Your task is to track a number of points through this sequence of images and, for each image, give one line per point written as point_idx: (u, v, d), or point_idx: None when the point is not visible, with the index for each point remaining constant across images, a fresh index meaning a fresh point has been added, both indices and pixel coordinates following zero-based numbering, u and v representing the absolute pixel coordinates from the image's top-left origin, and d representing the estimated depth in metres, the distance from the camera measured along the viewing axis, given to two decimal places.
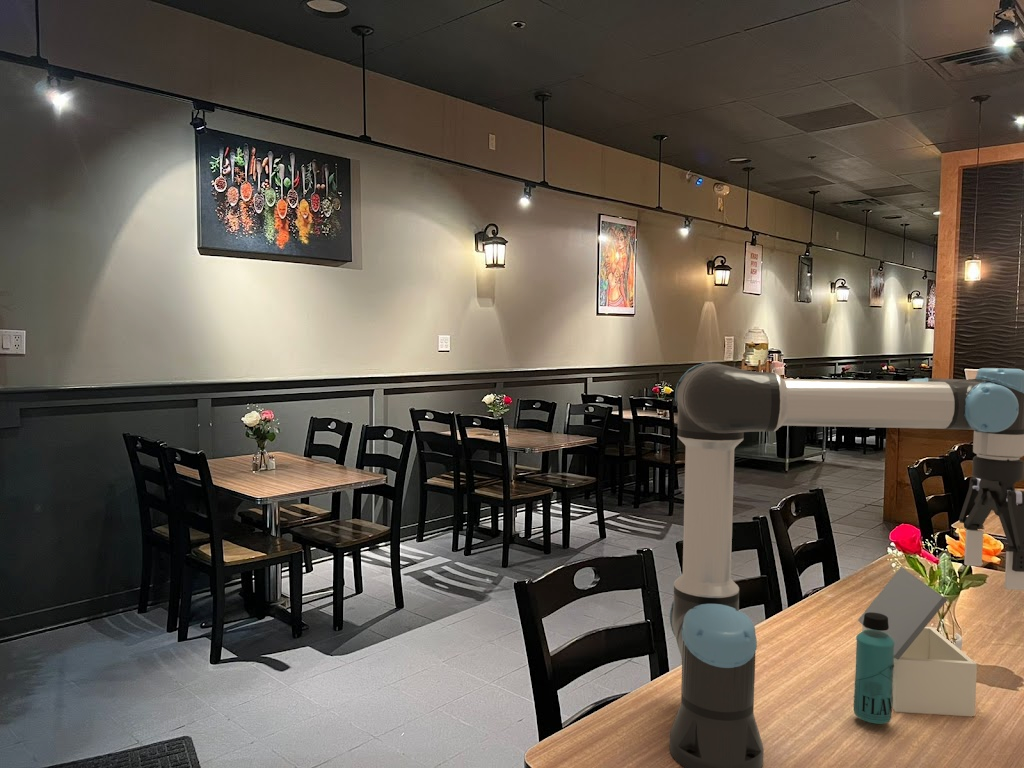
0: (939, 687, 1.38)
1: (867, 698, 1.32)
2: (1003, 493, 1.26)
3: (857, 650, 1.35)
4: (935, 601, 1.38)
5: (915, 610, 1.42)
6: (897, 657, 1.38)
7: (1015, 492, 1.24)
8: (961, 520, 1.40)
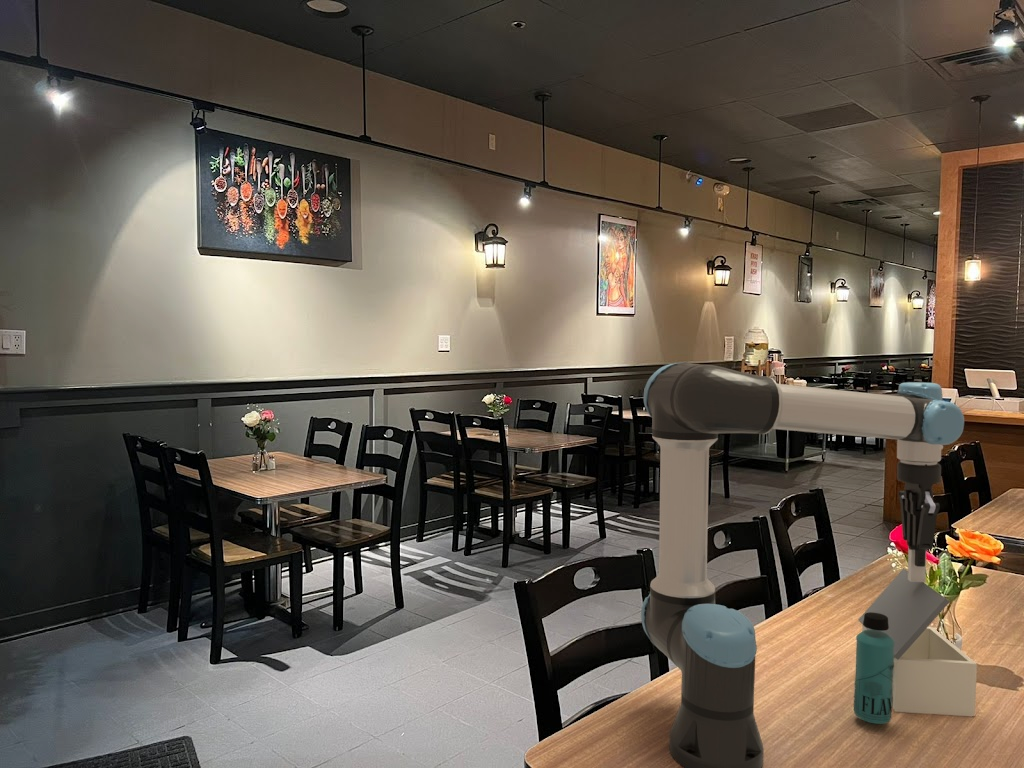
0: (939, 687, 1.38)
1: (867, 698, 1.32)
2: (921, 497, 1.42)
3: (857, 650, 1.35)
4: (937, 602, 1.38)
5: (917, 611, 1.42)
6: (897, 657, 1.38)
7: (930, 506, 1.39)
8: (904, 536, 1.49)
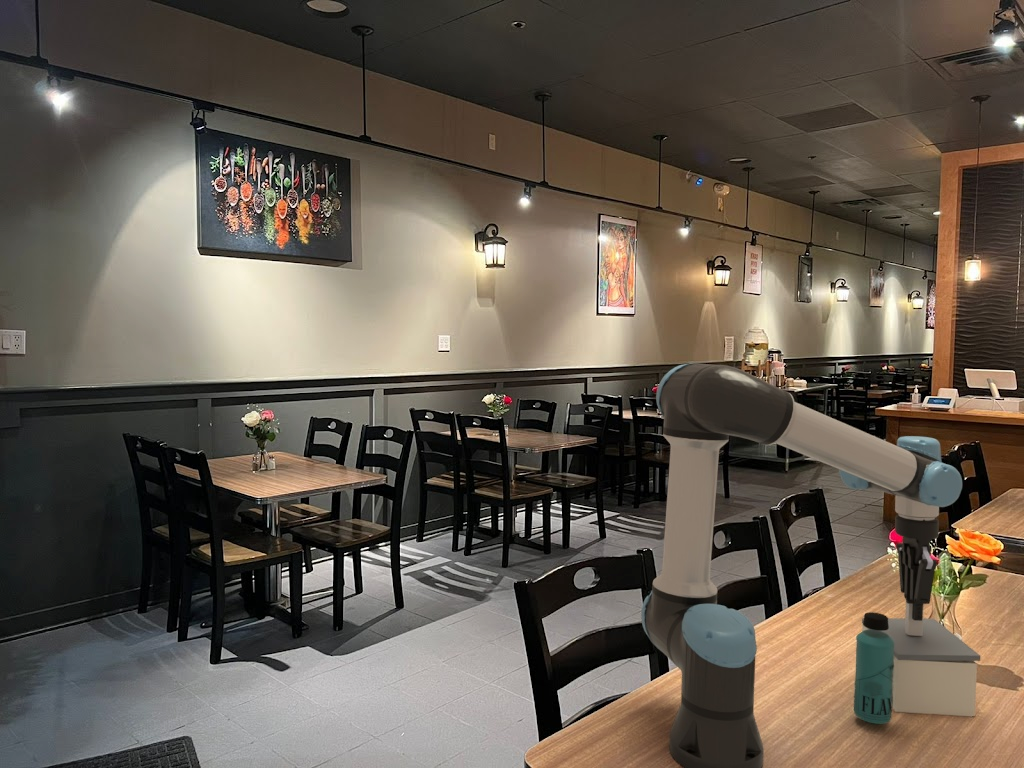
0: (939, 687, 1.38)
1: (867, 698, 1.32)
2: (919, 552, 1.42)
3: (857, 650, 1.35)
4: (969, 653, 1.38)
5: (940, 646, 1.41)
6: (900, 658, 1.38)
7: (927, 562, 1.40)
8: (902, 589, 1.49)
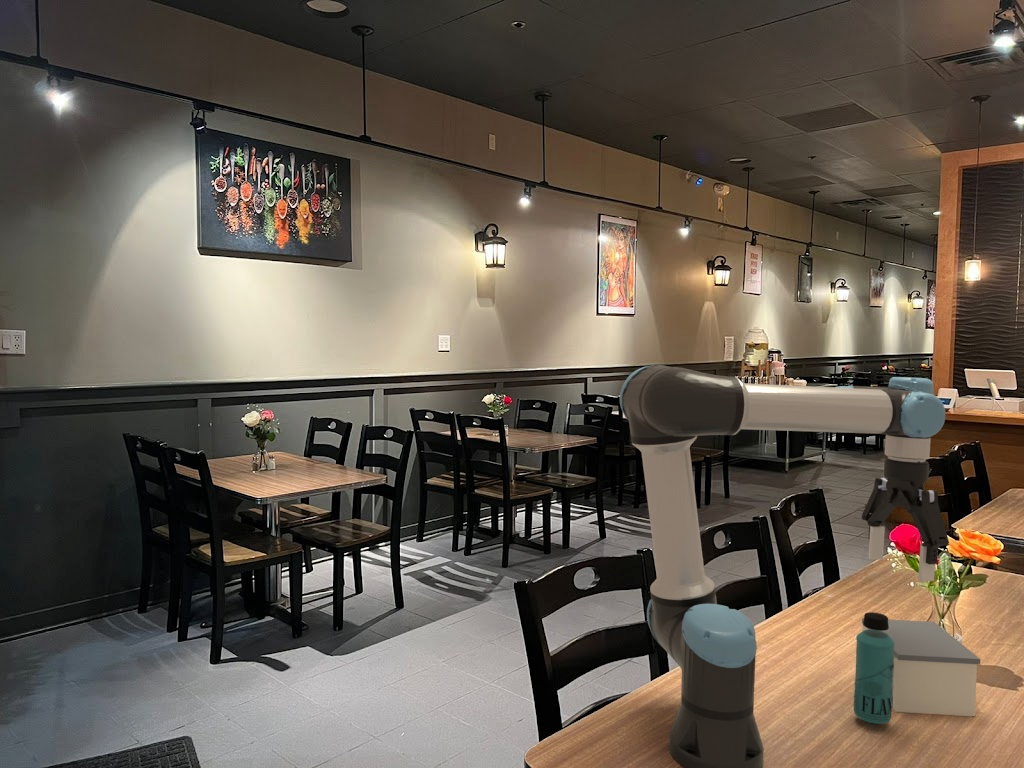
0: (939, 687, 1.38)
1: (867, 698, 1.32)
2: (915, 492, 1.37)
3: (857, 650, 1.35)
4: (969, 656, 1.38)
5: (940, 648, 1.41)
6: (900, 658, 1.38)
7: (928, 491, 1.35)
8: (864, 517, 1.50)
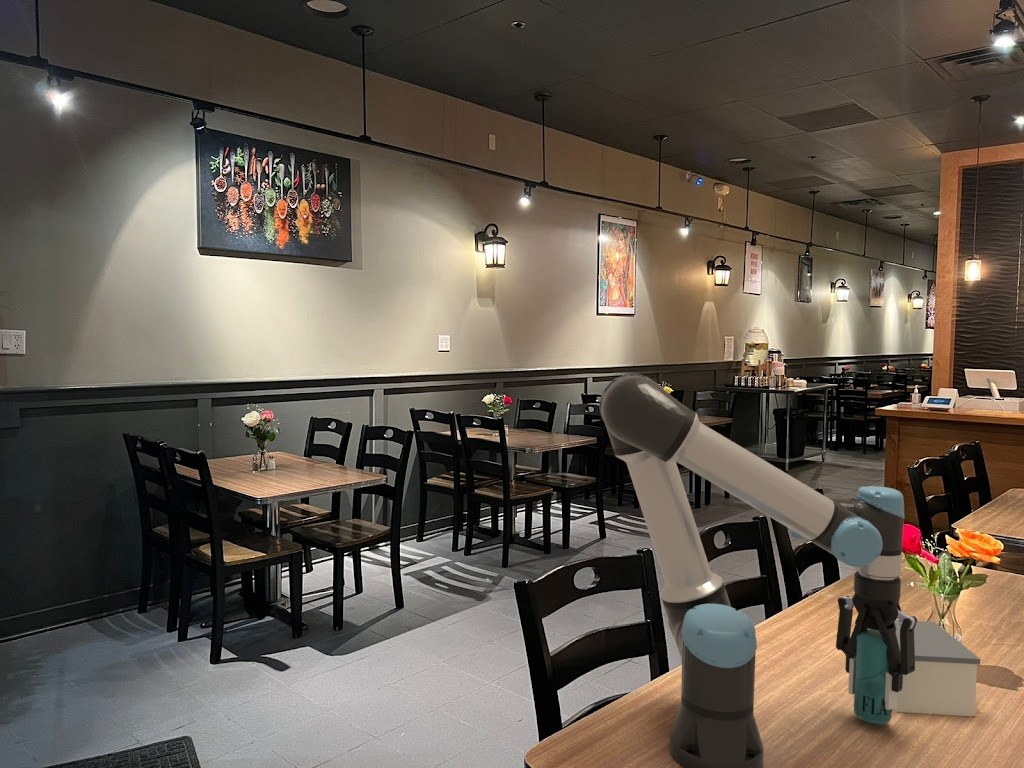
0: (939, 687, 1.38)
1: (867, 698, 1.32)
2: (894, 614, 1.30)
3: (857, 650, 1.35)
4: (969, 656, 1.38)
5: (940, 648, 1.41)
6: None
7: (911, 621, 1.28)
8: (840, 647, 1.38)
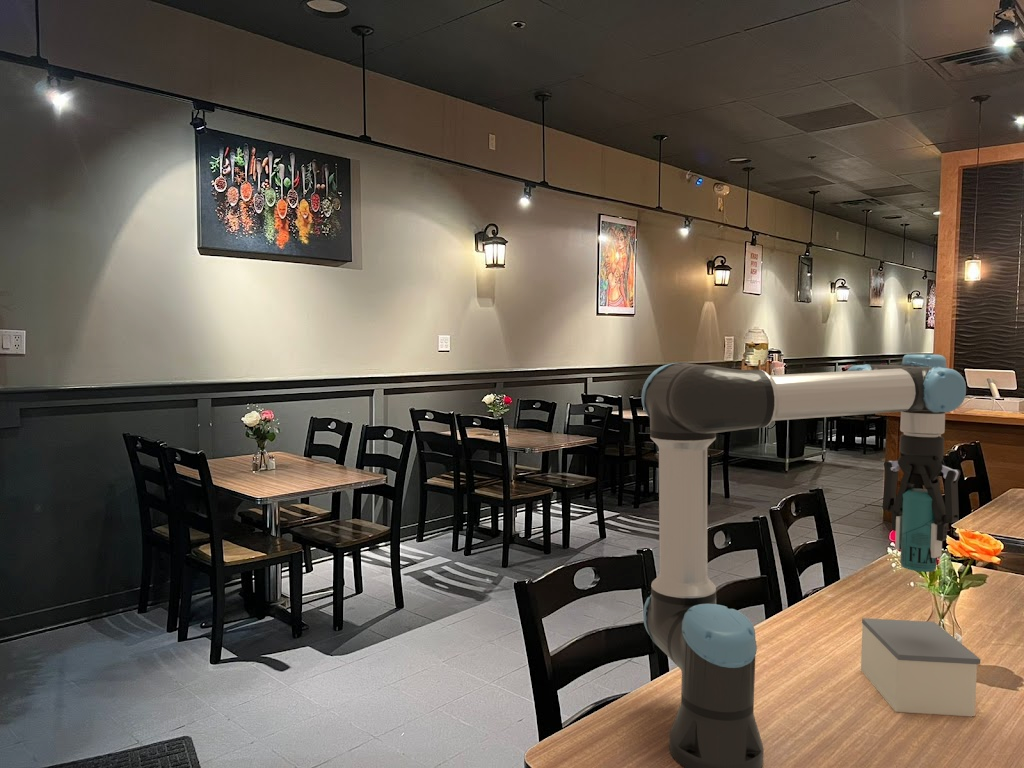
0: (939, 687, 1.38)
1: (914, 548, 1.42)
2: (939, 468, 1.40)
3: (904, 506, 1.45)
4: (969, 656, 1.38)
5: (940, 648, 1.41)
6: (900, 658, 1.38)
7: (955, 472, 1.38)
8: (886, 507, 1.49)
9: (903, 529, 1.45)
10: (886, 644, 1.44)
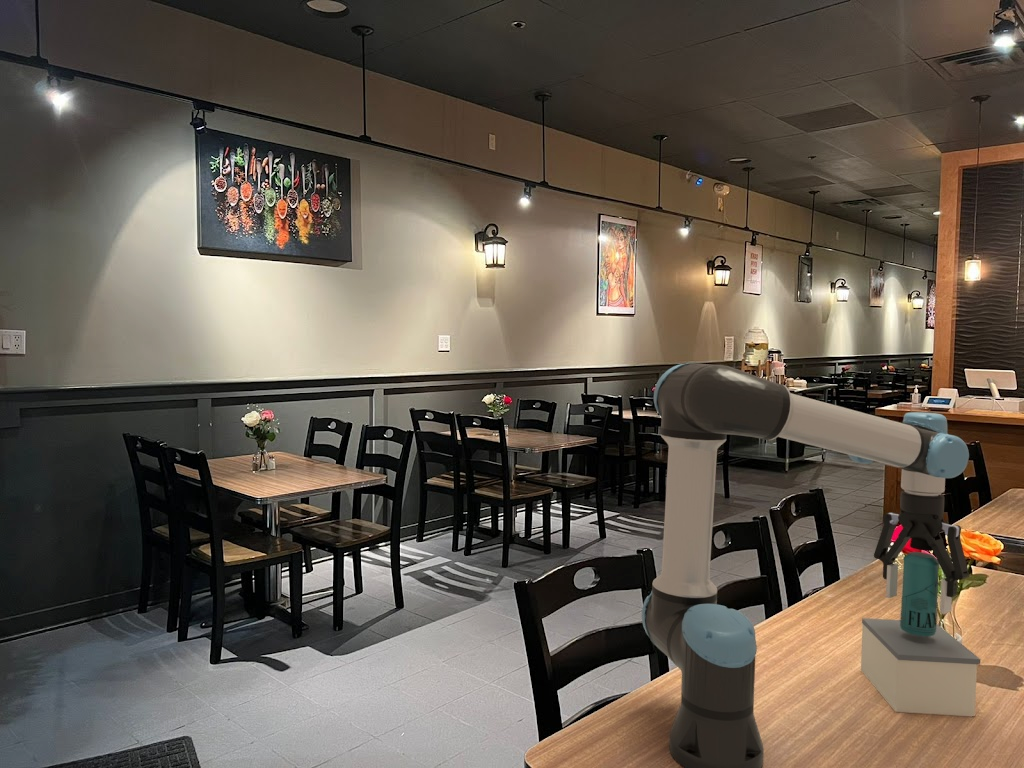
0: (939, 687, 1.38)
1: (913, 612, 1.44)
2: (939, 526, 1.42)
3: (904, 570, 1.46)
4: (969, 656, 1.38)
5: (940, 648, 1.41)
6: (900, 658, 1.38)
7: (955, 528, 1.40)
8: (878, 556, 1.52)
9: (903, 592, 1.46)
10: (886, 644, 1.44)
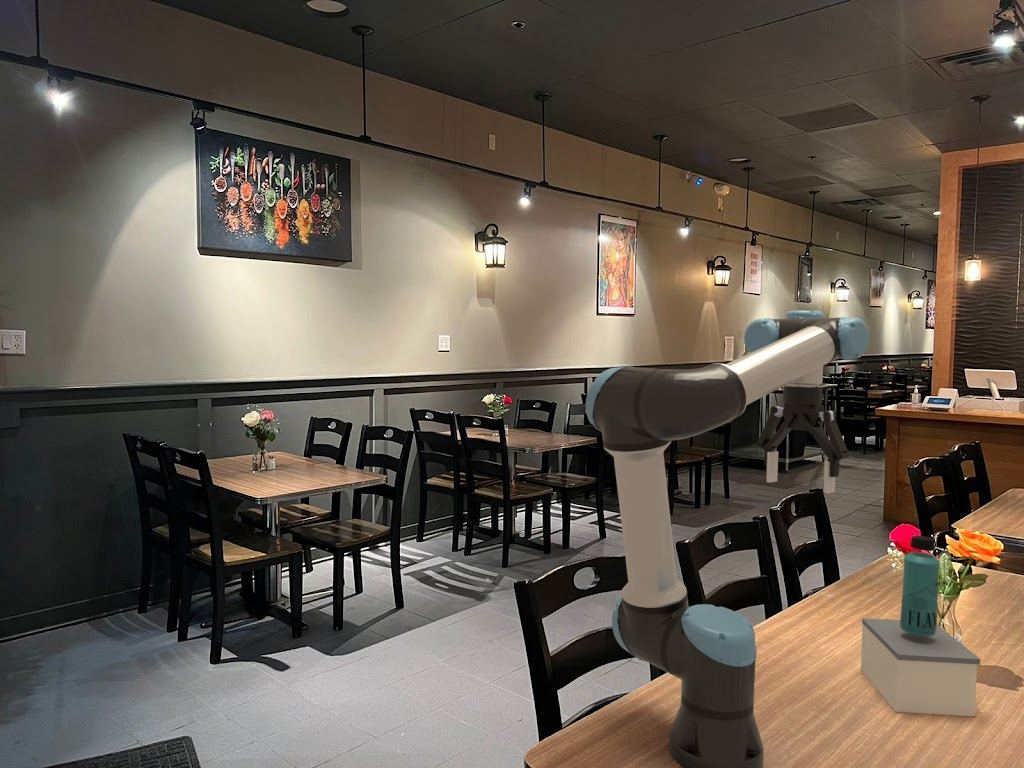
0: (939, 687, 1.38)
1: (913, 612, 1.44)
2: (816, 414, 1.51)
3: (904, 569, 1.46)
4: (969, 656, 1.38)
5: (940, 648, 1.41)
6: (900, 658, 1.38)
7: (829, 412, 1.49)
8: (760, 445, 1.62)
9: (903, 592, 1.47)
10: (886, 644, 1.44)
